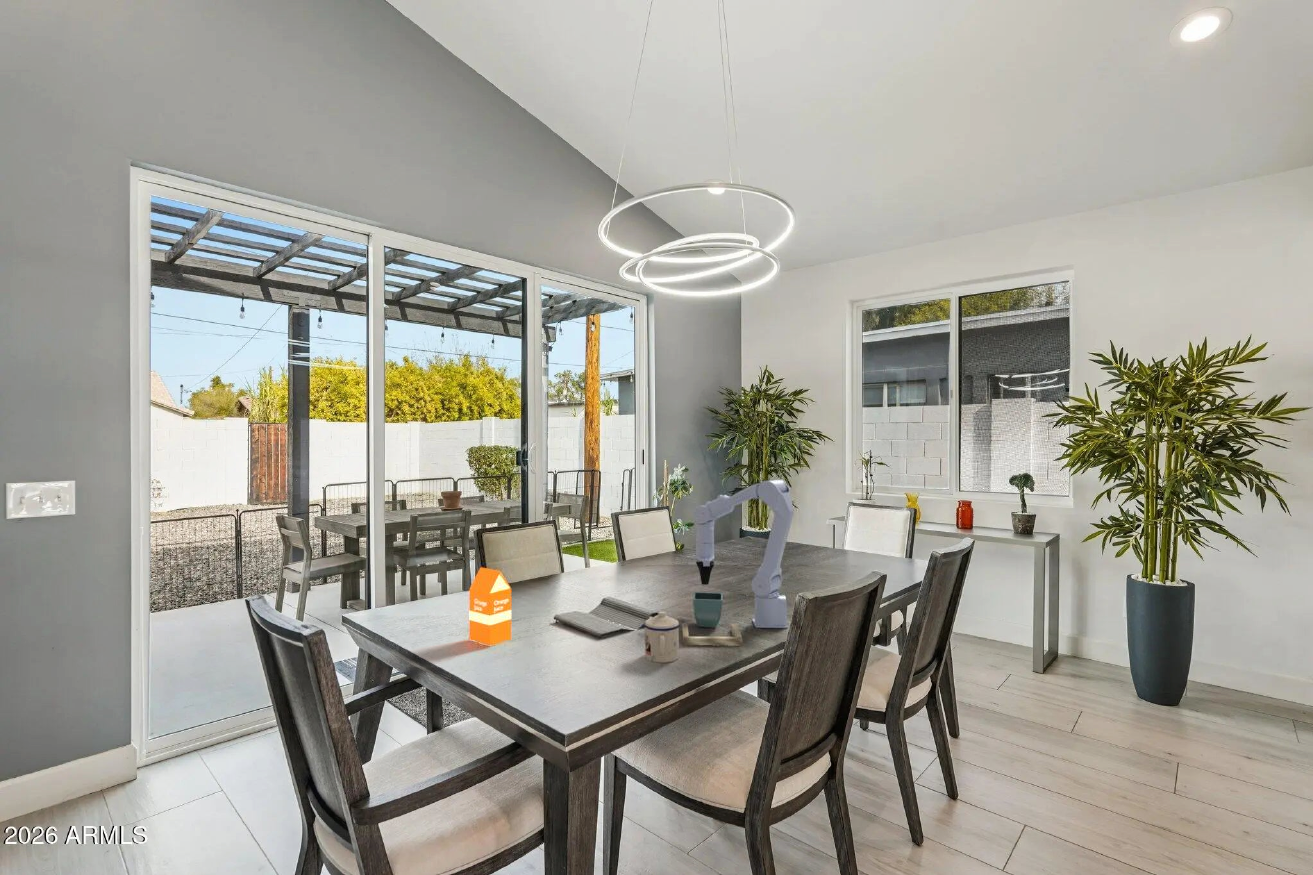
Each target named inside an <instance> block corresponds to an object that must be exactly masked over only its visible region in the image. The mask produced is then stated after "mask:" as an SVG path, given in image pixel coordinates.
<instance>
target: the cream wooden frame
mask: <svg viewBox="0 0 1313 875" xmlns="http://www.w3.org/2000/svg"><path fill="white" fill-rule="evenodd" d="M681 627H682V628H681V631H682V633H681V634H682V641H683V647H684V646H686V647H687V646H688V645H713V647H715V645H717V646H719V645H725V647H726V646H727V645H728V646H727V647H733V646H734V645H735V646H734V647H738V646H739V647H742V646H743V637H742V634H741V632H740V629H739V627H738V624H737V623H731V625H730V628H731V629H730V630H731V634H732V636H690V635H689V634H690V633H689V626H688V623H681ZM733 636H734V637H733ZM717 646H716V647H717ZM719 647H720V646H719Z"/></svg>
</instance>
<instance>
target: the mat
mask: <svg viewBox="0 0 1313 875" xmlns="http://www.w3.org/2000/svg"><path fill="white" fill-rule="evenodd" d="M657 615H658V611H656V610H653V609H650V608H649V609H648V608H646V607H643V606H641V605H637V604H634V603H630V602H628V601H624V600H621V599H618V598H615V597H612V596H606V597H603V598H602V599H601V601H600V603H599V604H598V605H597V606H596V607H595V608H593V609H592V610H591V611H589V612H583V611H576V610H575V611H569V612H564V613H559V614H555V615H554V616H553V620H555V623H556V624H558V622H560V623H563V624H565V625H567V626H570V627H571V628H575V629H577V630H580V631H581V632H583V633H586V634H589V635H591V636H594V637H595V638H597V639H598V640H599V639H601V637H602V636H605V635H608V634H611V633H615V632H619V631H623V630H624V631H632V632H634V631H635V630H636V629H637V630H639V629H641V628H642V627H643V626H644V624H645V621H646V620H648V619H650V617H651V618H653V617H655V616H657ZM608 620H609V621H608ZM613 622H614V623H613ZM619 624H621V625H619ZM632 628H633V629H632ZM637 630H636V631H637Z"/></svg>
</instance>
